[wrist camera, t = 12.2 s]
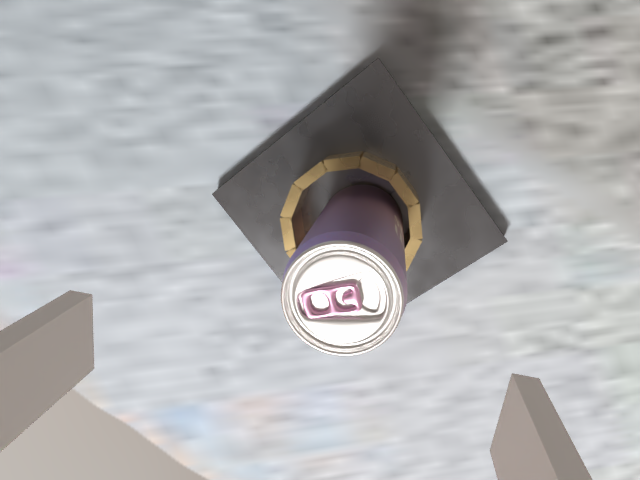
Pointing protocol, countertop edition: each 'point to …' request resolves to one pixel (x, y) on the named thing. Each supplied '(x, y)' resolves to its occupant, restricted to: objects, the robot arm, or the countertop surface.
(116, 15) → the countertop surface
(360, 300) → the beverage can
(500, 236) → the pipe socket
